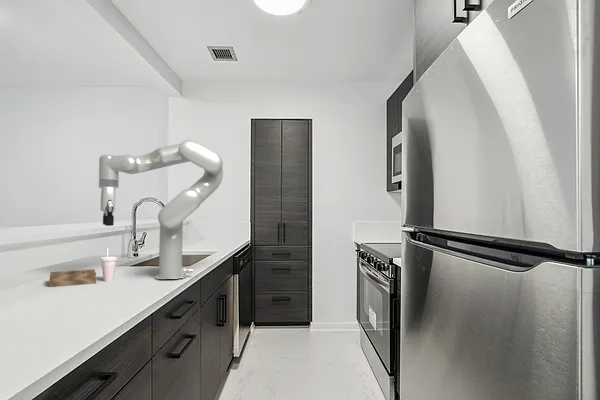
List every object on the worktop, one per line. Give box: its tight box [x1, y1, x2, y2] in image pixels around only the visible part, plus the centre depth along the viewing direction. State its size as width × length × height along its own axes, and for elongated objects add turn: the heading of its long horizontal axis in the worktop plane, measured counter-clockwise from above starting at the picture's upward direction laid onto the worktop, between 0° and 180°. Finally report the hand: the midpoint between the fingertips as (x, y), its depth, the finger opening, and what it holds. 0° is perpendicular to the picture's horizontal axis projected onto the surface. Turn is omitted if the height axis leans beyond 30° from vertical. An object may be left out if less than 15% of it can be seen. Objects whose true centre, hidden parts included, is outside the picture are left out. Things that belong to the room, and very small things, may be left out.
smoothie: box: [100, 247, 118, 283], centre depth 171 cm, size 6×6×14 cm
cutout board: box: [49, 268, 97, 288], centre depth 166 cm, size 16×12×4 cm
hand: (108, 225), depth 172 cm, fingers open, 9 cm apart
